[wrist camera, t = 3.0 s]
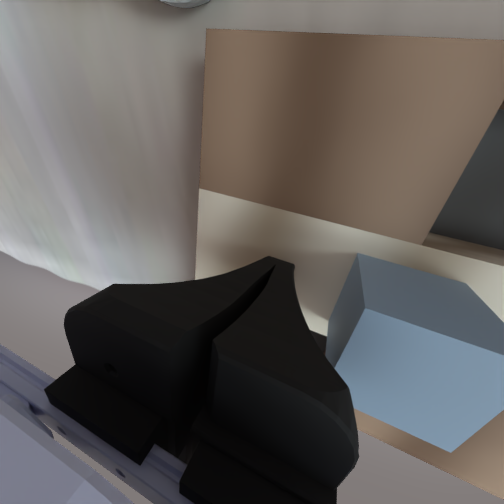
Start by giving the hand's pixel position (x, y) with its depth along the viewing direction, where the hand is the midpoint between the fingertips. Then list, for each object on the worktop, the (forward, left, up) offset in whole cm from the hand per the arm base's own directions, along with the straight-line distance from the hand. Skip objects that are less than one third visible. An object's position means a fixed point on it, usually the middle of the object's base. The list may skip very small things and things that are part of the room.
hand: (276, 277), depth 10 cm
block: (-5, 0, -1) cm, 5 cm away
